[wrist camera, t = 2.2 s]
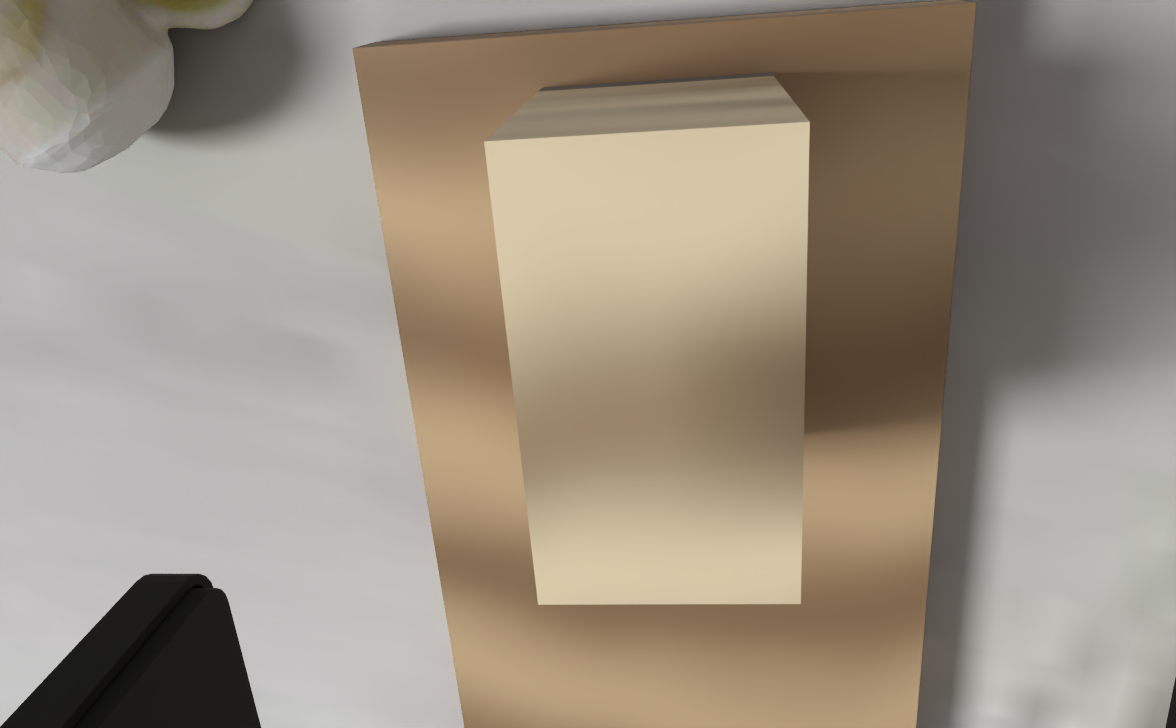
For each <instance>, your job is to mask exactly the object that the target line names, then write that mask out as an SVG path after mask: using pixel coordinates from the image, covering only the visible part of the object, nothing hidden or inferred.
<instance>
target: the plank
mask: <svg viewBox="0 0 1176 728" xmlns="http://www.w3.org/2000/svg"><path fill="white" fill-rule="evenodd" d="M975 14H976V3H975V2H968V1H961V0H941V1H928V2H914V3H900V4H887V5H873V6H860V7H846V8H833V9H819V10H805V11H792V12H778V13H765V14H751V15H737V16H724V17H710V18H697V19H683V20H670V21H656V22H642V23H629V24H615V25H602V26H588V27H575V28H561V29H547V30H534V31H520V32H507V33H493V34H479V35H466V36H452V37H439V38H425V39H412V40H398V41H384V42H374V43H370V44H367V45H363V46H359V47H355V48H353V54H354V60H355V66H356V72H357V78H358V85H359V91H360V97H361V103H362V109H363V115H364V121H365V127H366V133H367V139H368V145H369V151H370V157H371V163H372V169H373V175H374V181H375V188H376V194H377V200H378V206H379V212H380V218H381V224H382V230H383V236H384V242H385V248H386V254H387V260H388V266H389V272H390V278H391V284H392V290H393V297H394V303H395V309H396V315H397V321H398V327H399V333H400V339H401V345H402V351H403V357H404V363H405V369H406V375H407V381H408V387H409V393H410V399H411V406H412V412H413V418H414V424H415V430H416V436H417V442H418V448H419V454H420V460H421V466H422V472H423V478H424V484H425V490H426V496H427V502H428V509H429V515H430V521H431V527H432V533H433V539H434V545H435V551H436V557H437V563H438V569H439V575H440V581H441V587H442V593H443V599H444V605H445V611H446V618H447V624H448V630H449V636H450V642H451V648H452V654H453V660H454V666H455V672H456V678H457V684H458V690H459V696H460V702H461V708H462V714H463V720H464V727H465V728H916V722H917V710H918V698H919V686H920V674H921V662H922V650H923V638H924V626H925V614H926V602H927V590H928V578H929V566H930V554H931V542H932V530H933V518H934V506H935V494H936V482H937V470H938V458H939V446H940V434H941V422H942V410H943V398H944V386H945V374H946V362H947V350H948V338H949V326H950V314H951V302H952V290H953V278H954V266H955V254H956V242H957V230H958V218H959V206H960V194H961V182H962V170H963V158H964V146H965V134H966V122H967V110H968V98H969V86H970V74H971V62H972V50H973V38H974V26H975ZM770 72H771V73H772V74H773V76H774V77H775V78H776V79H777V81H778V82H779V83H780V85H781V86H782V87H783V88H784V90H785V91H786V92H787V93H788V95H789V96H790V97H791V99H792V100H793V101H794V102H795V104H796V105H797V106H798V107H799V109H800V110H801V111H802V113H803V114H804V115H805V116H806V118H807V119H808V120H809V121H810V137H809V191H808V244H807V298H806V352H805V406H804V459H803V513H802V567H801V604H611V605H538V600H537V591H536V582H535V574H534V565H533V557H532V548H531V540H530V531H529V523H528V514H527V505H526V497H525V488H524V480H523V471H522V463H521V454H520V446H519V437H518V428H517V420H516V411H515V403H514V394H513V386H512V377H511V368H510V360H509V351H508V343H507V334H506V326H505V317H504V309H503V300H502V291H501V283H500V274H499V266H498V257H497V249H496V240H495V231H494V223H493V214H492V206H491V197H490V189H489V180H488V172H487V163H486V154H485V146H484V141H485V140H486V139H487V138H488V137H489V136H490V135H491V134H493V133H494V132H495V131H496V130H497V129H498V128H499V127H500V126H501V125H502V124H503V123H504V122H506V121H507V120H508V119H509V118H510V117H511V116H512V115H513V114H514V113H515V112H516V111H517V110H519V109H520V108H521V107H522V106H523V105H524V104H525V103H526V102H527V101H528V100H529V99H530V98H532V97H533V96H534V95H535V94H536V93H537V92H538V91H539V90H540V89H541V88H544V87H559V86H575V85H590V84H605V83H620V82H635V81H650V80H665V79H680V78H695V77H710V76H725V75H740V74H755V73H770Z"/></svg>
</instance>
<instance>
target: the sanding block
mask: <svg viewBox="0 0 1176 728" xmlns="http://www.w3.org/2000/svg"><path fill="white" fill-rule="evenodd" d="M809 137H810V121H809V120H808V119H807V118H806V116H805V115H804V114H803V113H802V111H801V110H800V109H799V107H798V106H797V105H796V104H795V102H794V101H793V100H792V99H791V97H790V96H789V95H788V93H787V92H786V91H785V90H784V88H783V87H782V86H781V85H780V83H779V82H778V81H777V79H776V78H775V77H774V76H773V74H772V73H771V72H770V73H755V74H740V75H725V76H710V77H695V78H680V79H665V80H650V81H635V82H620V83H605V84H590V85H575V86H559V87H544V88H541V89H540V90H539V91H538V92H537V93H536V94H535V95H534V96H533V97H532V98H530V99H529V100H528V101H527V102H526V103H525V104H524V105H523V106H522V107H521V108H520V109H519V110H517V111H516V112H515V113H514V114H513V115H512V116H511V117H510V118H509V119H508V120H507V121H506V122H504V123H503V124H502V125H501V126H500V127H499V128H498V129H497V130H496V131H495V132H494V133H493V134H491V135H490V136H489V137H488V138H487V139H486V140H485V141H484V146H485V154H486V163H487V172H488V180H489V189H490V197H491V206H492V214H493V223H494V231H495V240H496V249H497V257H498V266H499V274H500V283H501V291H502V300H503V309H504V317H505V326H506V334H507V343H508V351H509V360H510V368H511V377H512V386H513V394H514V403H515V411H516V420H517V428H518V437H519V446H520V454H521V463H522V471H523V480H524V488H525V497H526V505H527V514H528V523H529V531H530V540H531V548H532V557H533V565H534V574H535V582H536V591H537V600H538V605H611V604H801V567H802V513H803V459H804V406H805V352H806V298H807V244H808V191H809Z"/></svg>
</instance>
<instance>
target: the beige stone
mask: <svg viewBox="0 0 1176 728" xmlns="http://www.w3.org/2000/svg"><path fill="white" fill-rule="evenodd" d="M252 3H253V0H0V149H2V150H3V151H4V152H5V153H7V154H8V155H9V156H10V158H11V159H12V160H13V161H14V162H15V163H16V164H18V165H21V166H23V167H25V168H31V169H39V170H46V171H53V172H60V173H73V172H79V171H84V170H87V169H89V168H92V167H94V166H96V165H98V164H100V163H102V162H103V161H105V160H107V159H110V158H112V157H114V156H115V155H117V154H119V153H120V152H122V151H124V150H125V149H127V148H129V147H130V146H131V145H132V144H133V143H134V142H135V141H136V140H137V139H138V138H139V137H140V136H141V135H142V134H144V133H145V132H146V131H147V130H148V129H150V128H151V127H152V126H153V125H155V124H156V123H157V122H158V121H159V119H160V118H161V116H162V115H163V113H164V112H165V111H166V109H167V107H168V104H169V102H170V99H171V96H172V93H173V89H174V56H173V45H172V43H171V41H170V39H169V37H168V29H169V28H196V29H202V30H203V29H216V28H219V27H222V26H223V25H225V24H228V23H230V22H232V21H234V20H236V19H238V18H240V17H241V16H242V15H243V14H244V13H245V11H246V10H247V9H248V8H249V7H250V6H251V5H252Z"/></svg>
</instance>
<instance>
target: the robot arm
mask: <svg viewBox="0 0 1176 728" xmlns="http://www.w3.org/2000/svg"><path fill="white" fill-rule="evenodd" d="M0 728H261V726H260V722H259V718H258V714H257V710H256V706H255V703H254V699H253V695H252V691H251V687H250V683H249V679H248V676H247V672H246V668H245V664H244V660H243V656H242V652H241V649H240V645H239V641H238V637H237V633H236V629H235V625H234V622H233V618H232V614H231V610H230V606H229V602H228V599H227V597H226V594H225V593H224V592H223V591H222V590H221V589H218V588H213V586H212V583H211V582H210V580H209V579H208V578H207V577H206V576H204V575H201V574H149V575H145V576H143V577H142V578H140V579H139V580H138V581H137V582H136V583H135V584H134V585H133V586H132V587H131V588H130V589H129V590H128V591H127V592H126V593H125V594H124V595H123V596H122V598H121V599H120V600H119V601H118V602H117V603H116V604H115V605H114V606H113V607H112V608H111V609H110V610H109V611H108V612H107V614H106V615H105V616H104V617H103V618H102V619H101V620H100V621H99V622H98V623H97V624H96V625H95V626H94V627H93V628H92V630H91V631H90V632H89V633H88V634H87V635H86V636H85V637H84V638H83V639H82V640H81V641H80V642H79V643H78V644H77V646H76V647H75V648H74V649H73V650H72V651H71V652H70V653H69V654H68V655H67V656H66V657H65V658H64V659H63V661H62V662H61V663H60V664H59V665H58V666H57V667H56V668H55V669H54V670H53V671H52V672H51V673H50V674H49V675H48V677H47V678H46V679H45V680H44V681H43V682H42V683H41V684H40V685H39V686H38V687H37V688H36V689H35V690H34V691H33V693H32V694H31V695H30V696H29V697H28V698H27V699H26V700H25V701H24V702H23V703H22V704H21V705H20V706H19V707H18V709H17V710H16V711H15V712H14V713H13V714H12V715H11V716H10V717H9V718H8V719H7V720H6V721H5V722H4V723H3V725H2V726H1V727H0ZM1166 728H1176V679H1175V684H1174V689H1173V694H1172V698H1171V703H1170V708H1169V713H1168V718H1167V723H1166Z"/></svg>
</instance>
